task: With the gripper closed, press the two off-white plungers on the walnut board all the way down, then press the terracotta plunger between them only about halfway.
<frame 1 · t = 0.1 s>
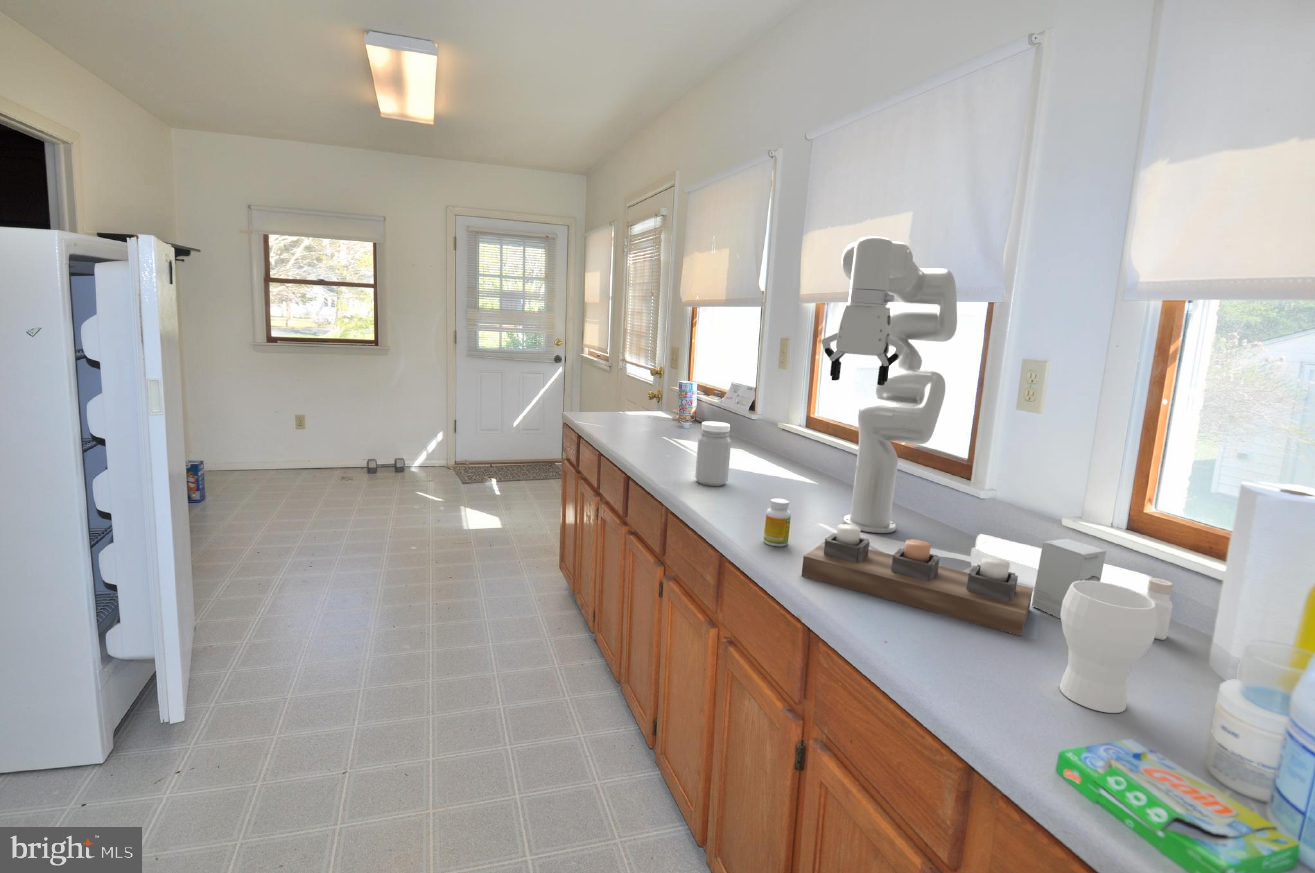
hand: (857, 382, 141), 37 cm above the worktop, tool pointing down, fingers open, 9 cm apart
terracotta plunger: (917, 551, 124), point 8 cm above the worktop, slide at 0.0 cm
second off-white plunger: (848, 534, 131), point 8 cm above the worktop, slide at 0.0 cm
cup: (1091, 698, 92), on the worktop
pepper shaker: (1150, 635, 114), on the worktop
jar: (711, 483, 202), on the worktop
button board: (911, 591, 126), on the worktop
supplement bottle: (775, 543, 149), on the worktop
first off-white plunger: (994, 569, 117), point 8 cm above the worktop, slide at 0.0 cm
supplement box: (1061, 613, 121), on the worktop
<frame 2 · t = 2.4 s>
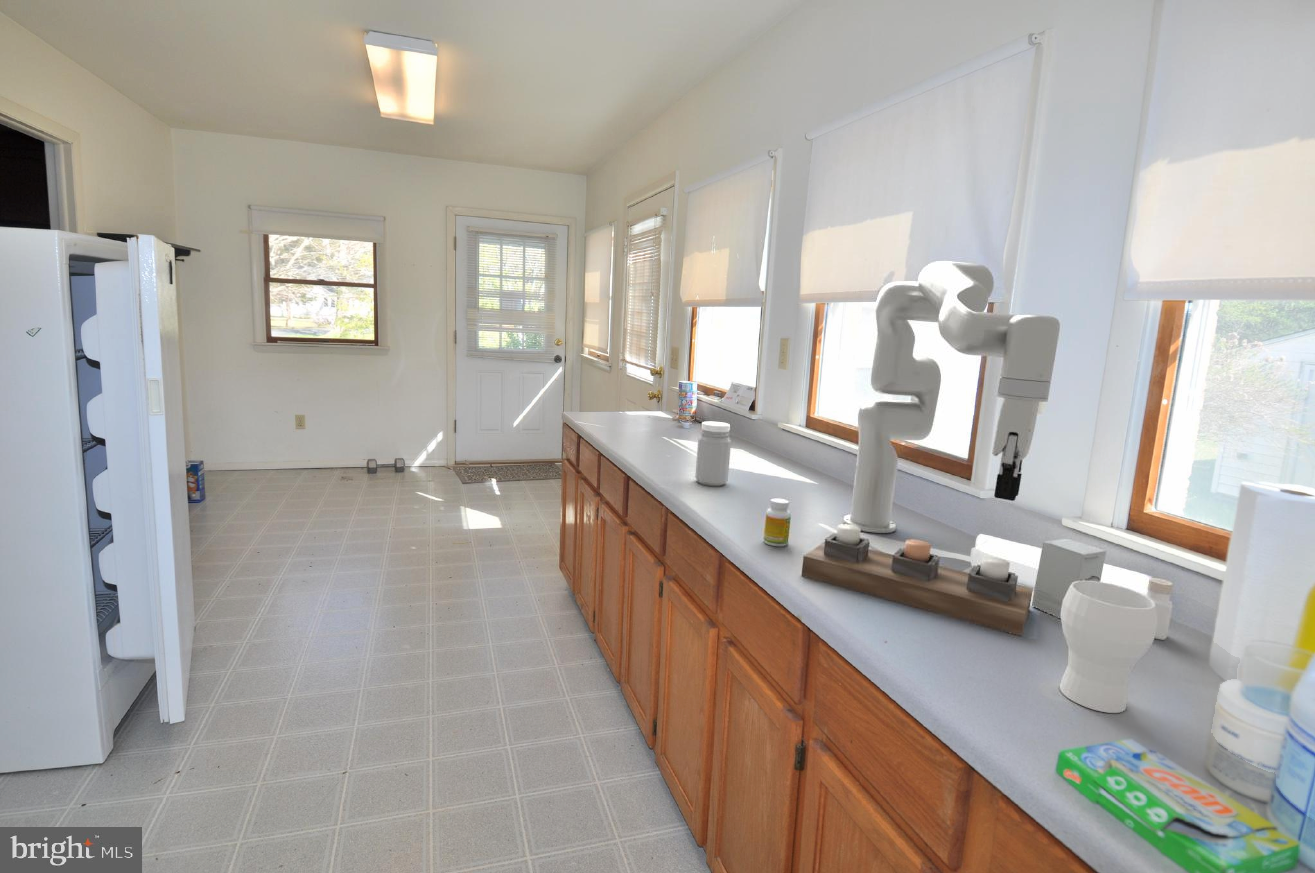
hand: (1006, 495, 115), 21 cm above the worktop, tool pointing down, fingers open, 3 cm apart
nothing on the worktop moved.
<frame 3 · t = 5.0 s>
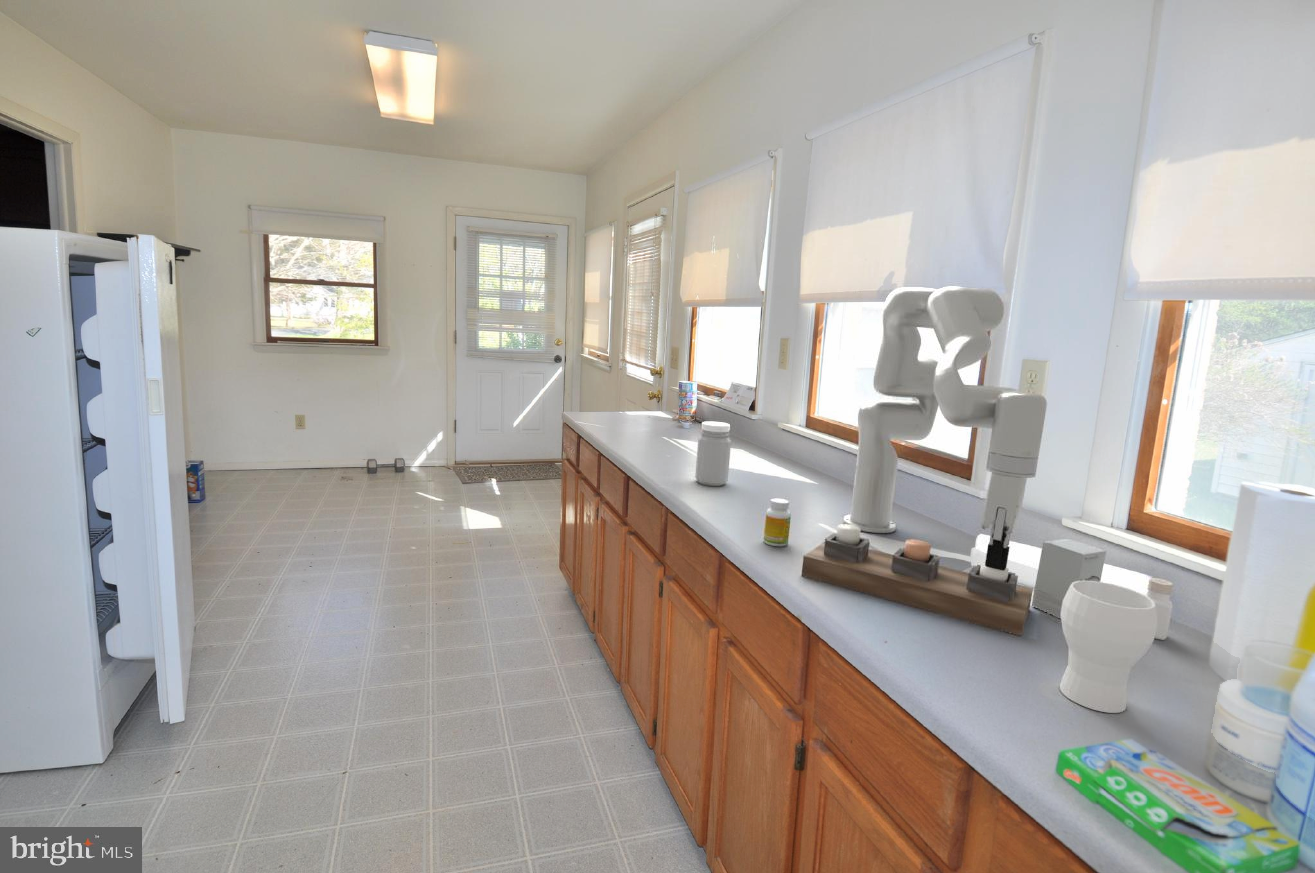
hand: (995, 567, 117), 8 cm above the worktop, tool pointing down, fingers closed
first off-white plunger: (993, 575, 118), point 7 cm above the worktop, slide at 1.1 cm, touching gripper
everything else where it was.
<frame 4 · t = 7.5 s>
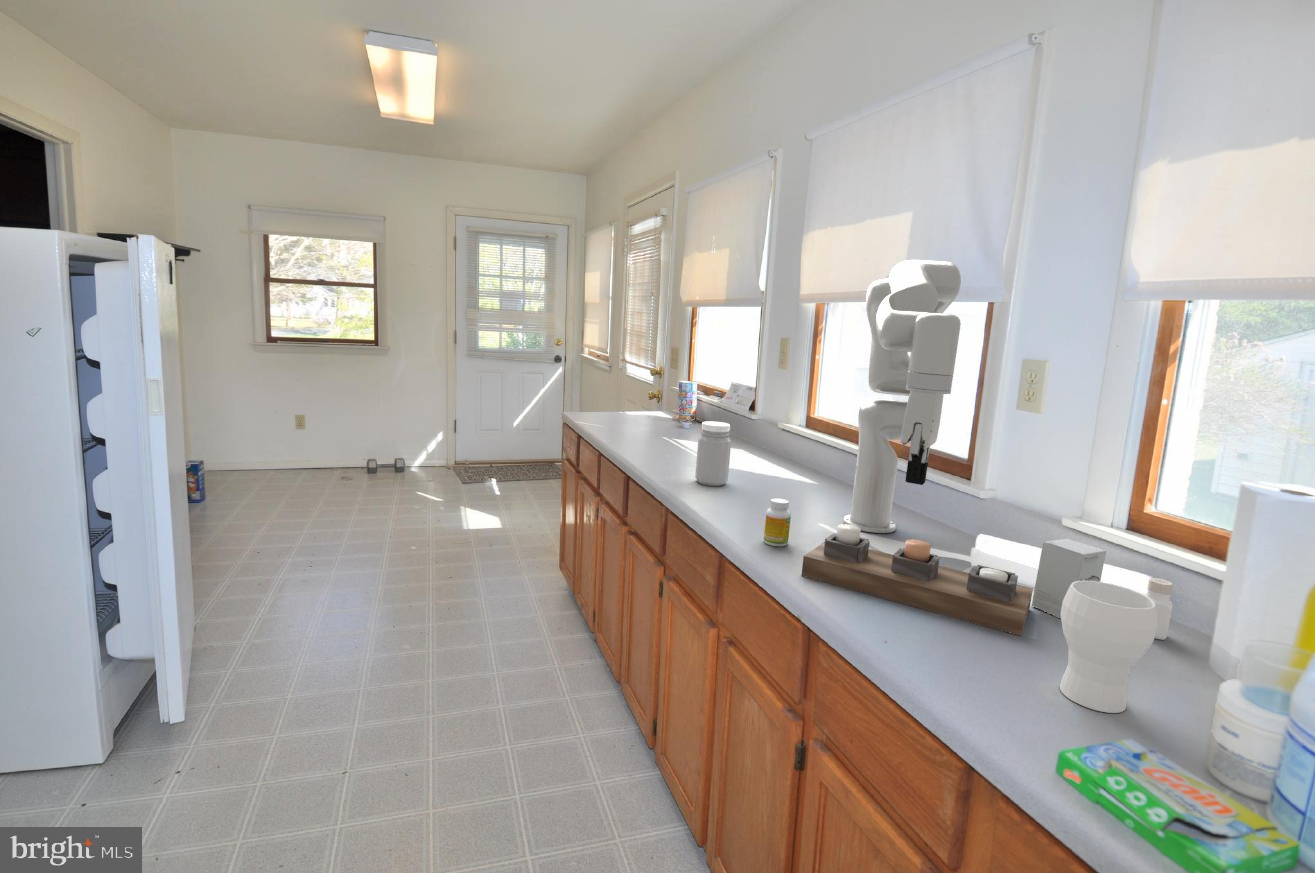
hand: (915, 482, 123), 21 cm above the worktop, tool pointing down, fingers closed
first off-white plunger: (992, 580, 118), point 6 cm above the worktop, slide at 2.2 cm
everything else where it was.
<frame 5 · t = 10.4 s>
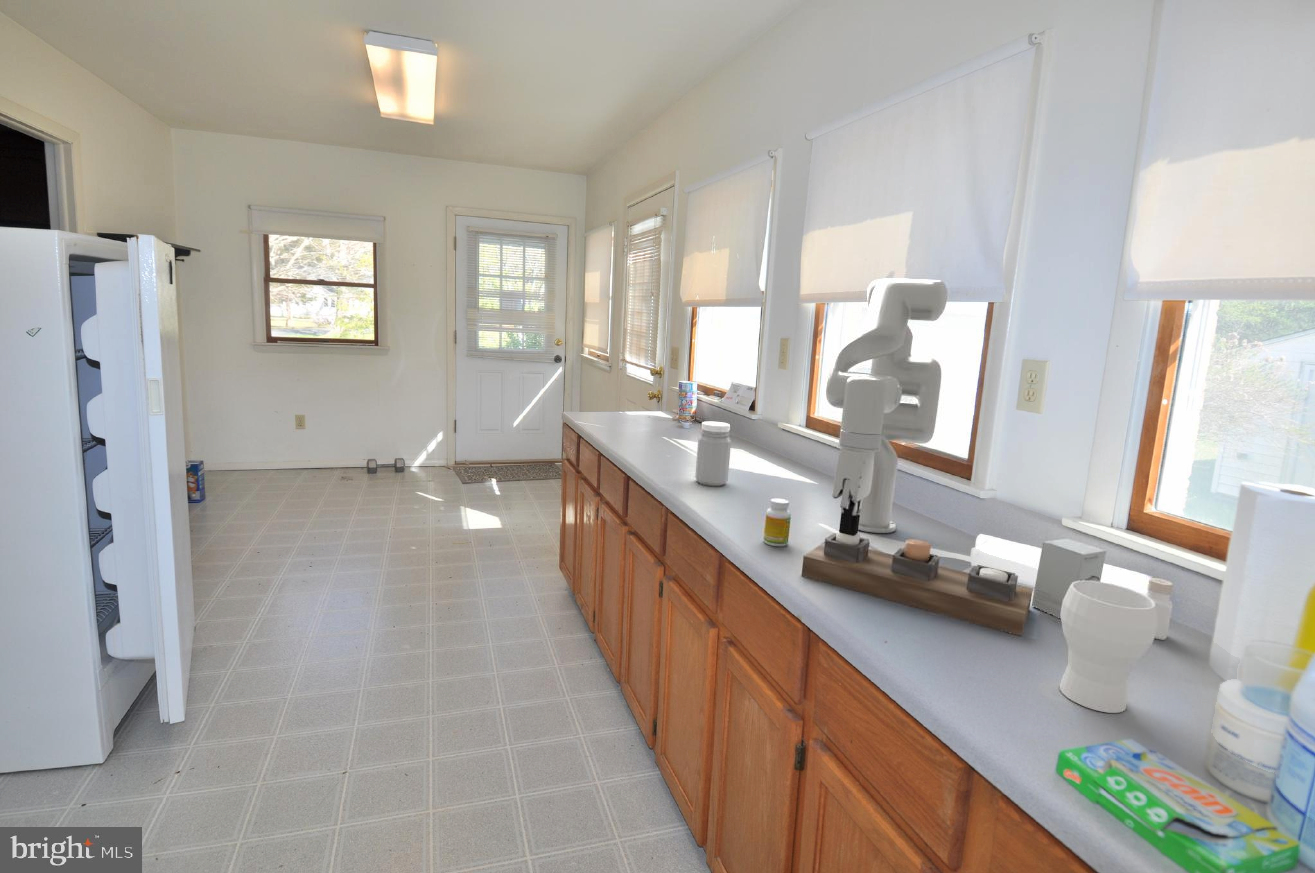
hand: (848, 533, 131), 8 cm above the worktop, tool pointing down, fingers closed
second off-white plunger: (847, 540, 132), point 7 cm above the worktop, slide at 1.1 cm, touching gripper
everything else where it was.
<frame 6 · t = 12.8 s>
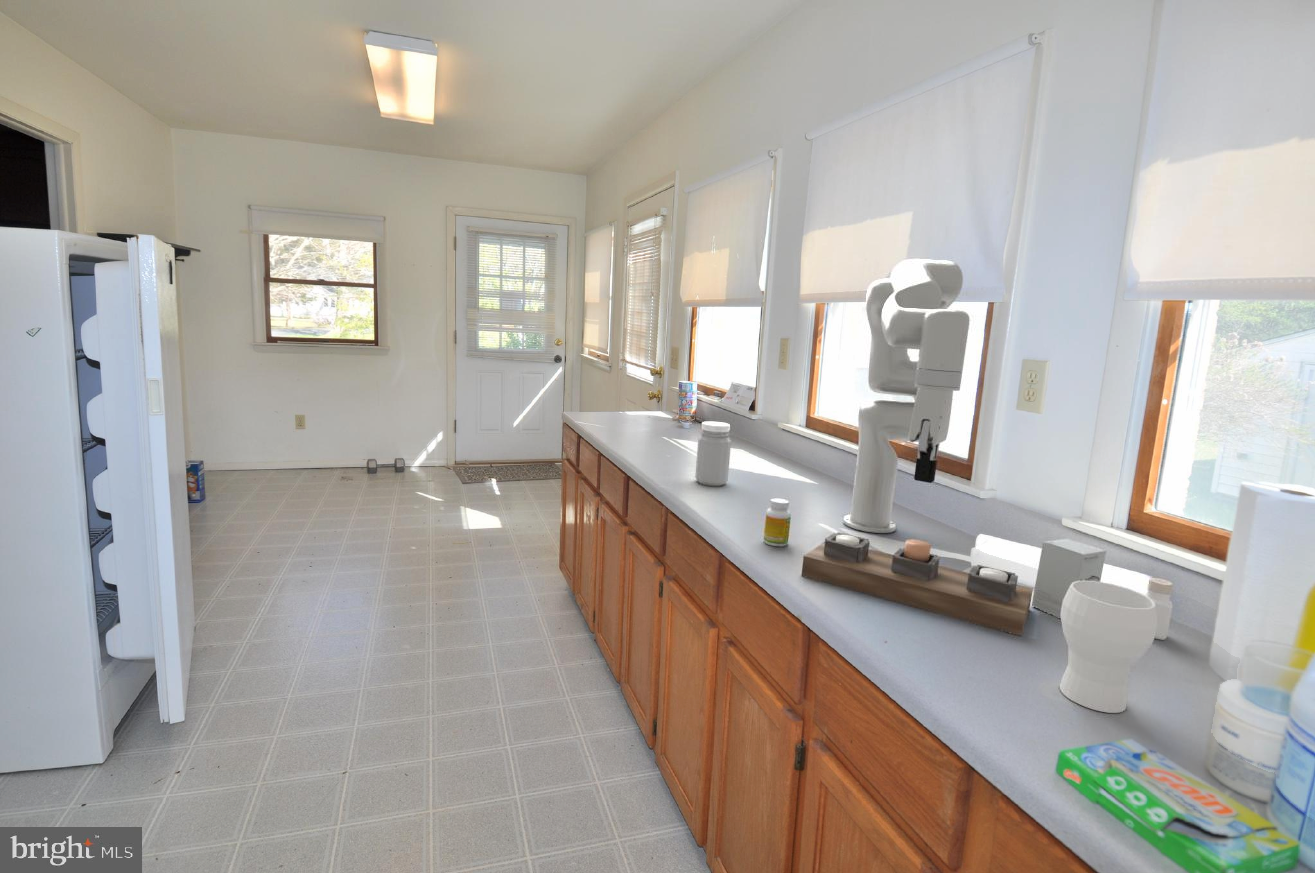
hand: (924, 480, 122), 21 cm above the worktop, tool pointing down, fingers closed
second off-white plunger: (846, 545, 132), point 6 cm above the worktop, slide at 2.2 cm
everything else where it was.
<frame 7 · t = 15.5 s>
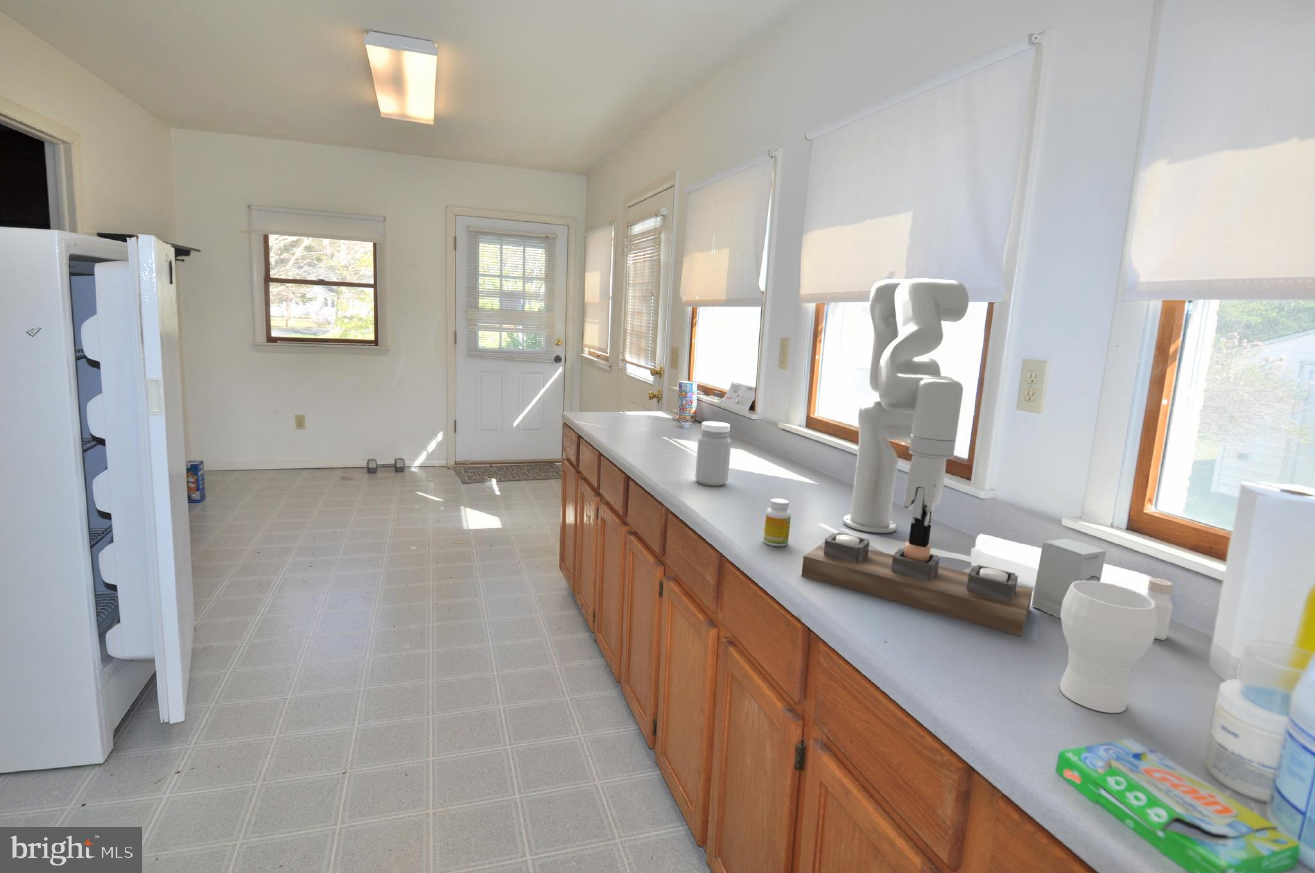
hand: (918, 544, 124), 9 cm above the worktop, tool pointing down, fingers closed
terracotta plunger: (917, 552, 124), point 8 cm above the worktop, slide at 0.2 cm, touching gripper
everything else where it was.
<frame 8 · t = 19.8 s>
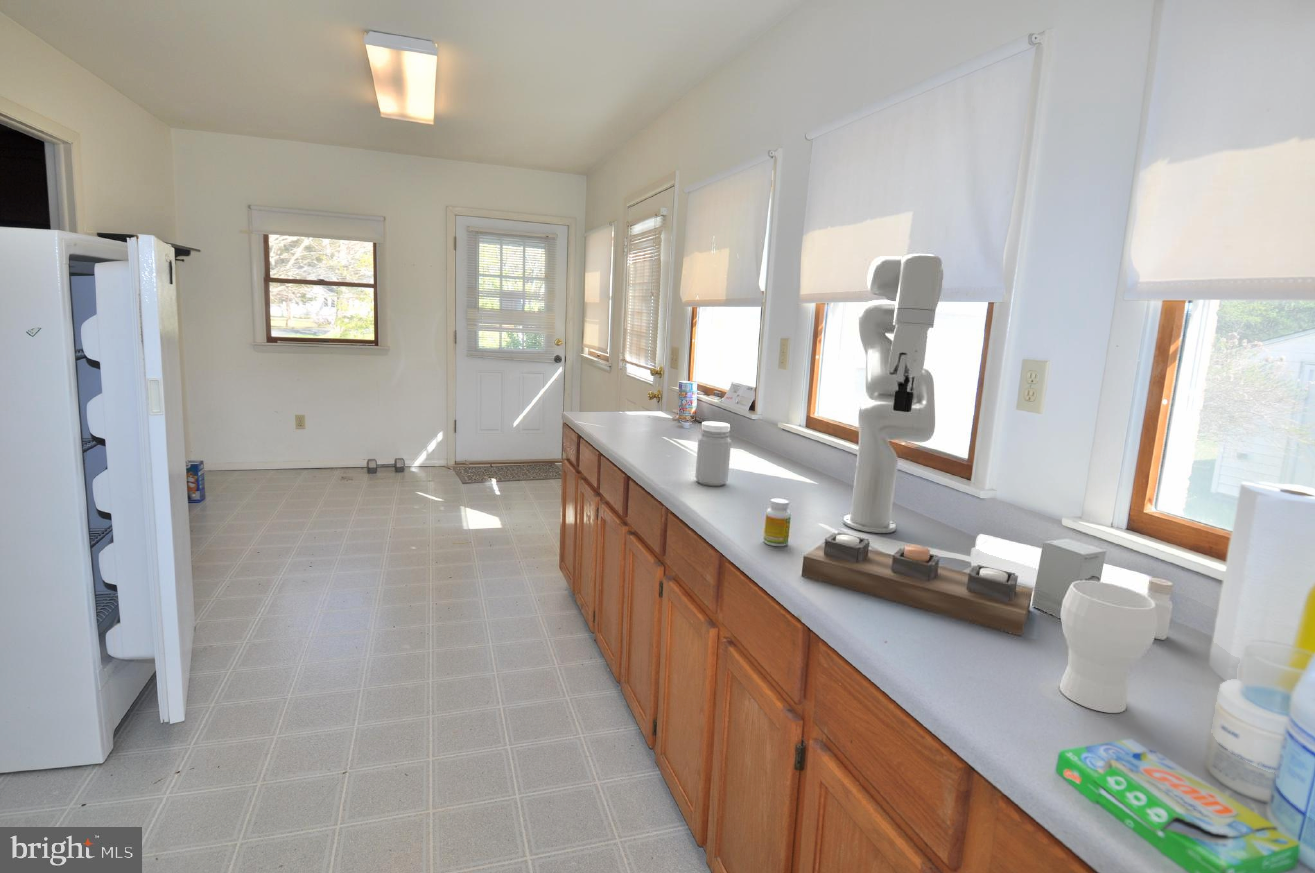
hand: (901, 410, 136), 32 cm above the worktop, tool pointing down, fingers closed
terracotta plunger: (916, 556, 125), point 7 cm above the worktop, slide at 1.0 cm
everything else where it was.
at the end: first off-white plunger slide at 2.2 cm; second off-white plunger slide at 2.2 cm; terracotta plunger slide at 1.0 cm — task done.
